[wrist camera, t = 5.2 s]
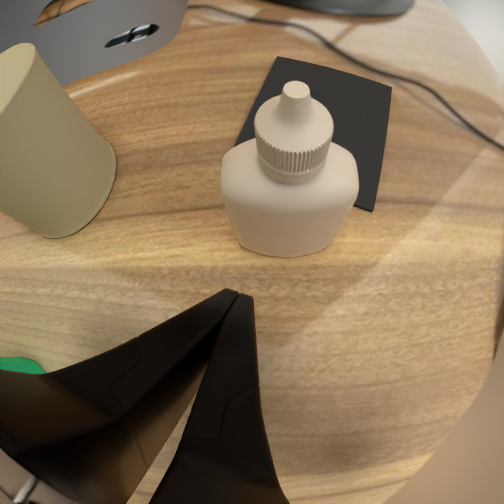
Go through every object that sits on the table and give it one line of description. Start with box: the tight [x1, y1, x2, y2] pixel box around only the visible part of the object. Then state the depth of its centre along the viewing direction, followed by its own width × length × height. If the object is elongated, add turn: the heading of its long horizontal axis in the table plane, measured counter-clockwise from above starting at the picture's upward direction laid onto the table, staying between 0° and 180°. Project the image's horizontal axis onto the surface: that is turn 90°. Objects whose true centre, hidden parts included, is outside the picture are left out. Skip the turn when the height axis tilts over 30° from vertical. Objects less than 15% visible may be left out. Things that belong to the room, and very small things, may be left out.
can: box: [0, 43, 116, 238], centre depth 15 cm, size 9×9×12 cm
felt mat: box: [234, 56, 392, 212], centre depth 21 cm, size 12×10×1 cm
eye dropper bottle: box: [220, 81, 359, 257], centre depth 13 cm, size 4×6×12 cm
